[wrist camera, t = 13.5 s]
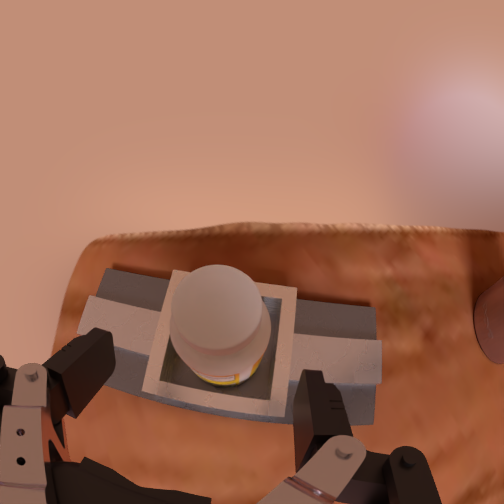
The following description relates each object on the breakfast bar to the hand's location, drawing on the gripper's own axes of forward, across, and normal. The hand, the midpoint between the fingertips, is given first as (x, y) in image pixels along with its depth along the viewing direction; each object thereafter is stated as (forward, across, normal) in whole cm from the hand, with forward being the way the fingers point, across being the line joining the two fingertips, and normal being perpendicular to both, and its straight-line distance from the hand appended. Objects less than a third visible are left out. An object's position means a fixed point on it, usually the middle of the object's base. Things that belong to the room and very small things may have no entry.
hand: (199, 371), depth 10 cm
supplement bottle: (+9, 0, +5) cm, 10 cm away
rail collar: (+10, 0, +5) cm, 11 cm away
